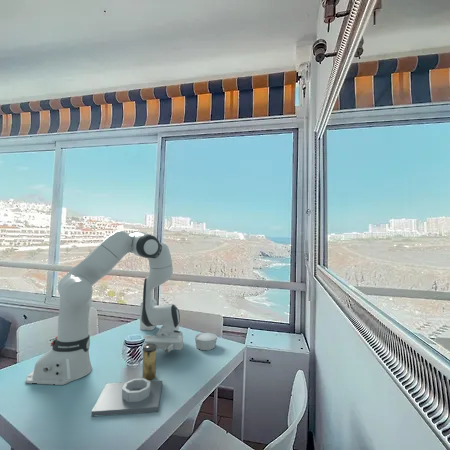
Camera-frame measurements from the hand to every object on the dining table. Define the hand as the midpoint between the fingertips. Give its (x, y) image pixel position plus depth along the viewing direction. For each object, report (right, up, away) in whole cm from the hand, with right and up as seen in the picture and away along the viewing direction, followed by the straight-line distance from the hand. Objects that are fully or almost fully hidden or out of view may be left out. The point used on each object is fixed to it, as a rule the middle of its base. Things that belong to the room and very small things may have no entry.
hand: (156, 349), depth 120 cm
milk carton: (-16, -8, +45) cm, 49 cm away
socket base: (-3, -6, -24) cm, 25 cm away
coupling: (0, -6, -10) cm, 12 cm away
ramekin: (+20, -8, +20) cm, 29 cm away
